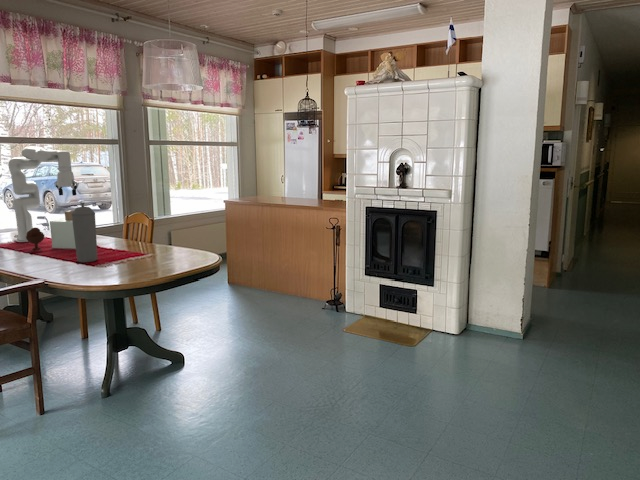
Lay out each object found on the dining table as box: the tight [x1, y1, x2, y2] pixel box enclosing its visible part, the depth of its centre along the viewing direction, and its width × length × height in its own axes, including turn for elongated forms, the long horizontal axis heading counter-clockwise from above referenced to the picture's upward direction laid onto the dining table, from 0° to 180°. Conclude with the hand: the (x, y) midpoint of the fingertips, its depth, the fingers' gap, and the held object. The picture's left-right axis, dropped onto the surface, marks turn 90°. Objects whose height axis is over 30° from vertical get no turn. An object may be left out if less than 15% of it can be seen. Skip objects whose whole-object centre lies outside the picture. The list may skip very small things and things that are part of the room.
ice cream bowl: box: [26, 227, 45, 251], centre depth 317 cm, size 11×11×15 cm
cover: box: [49, 210, 76, 250], centre depth 328 cm, size 17×17×24 cm
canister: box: [71, 202, 98, 263], centre depth 285 cm, size 13×13×35 cm
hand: (67, 195), depth 323 cm, fingers open, 9 cm apart
